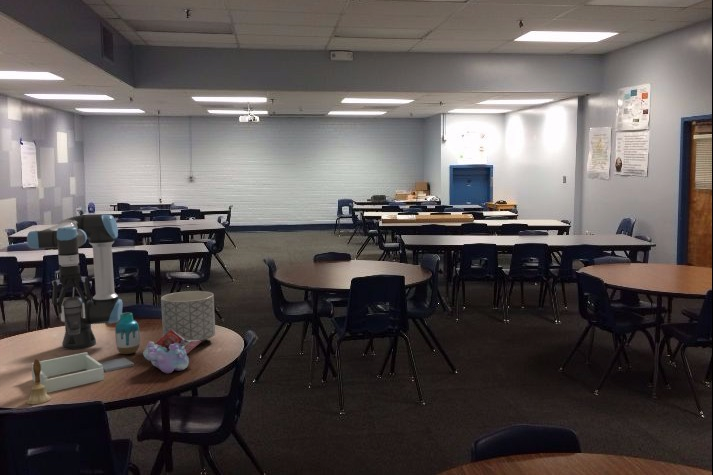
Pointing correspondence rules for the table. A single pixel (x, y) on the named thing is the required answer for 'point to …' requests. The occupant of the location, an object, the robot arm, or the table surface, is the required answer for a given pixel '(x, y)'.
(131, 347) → the vase
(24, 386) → the table surface
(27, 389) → the table surface
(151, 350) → the pastel lumpy cloud blob
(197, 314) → the planter
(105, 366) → the slate tile
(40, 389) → the hand bell
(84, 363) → the frame
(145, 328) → the table surface
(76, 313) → the beverage cup
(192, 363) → the table surface
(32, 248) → the robot arm
